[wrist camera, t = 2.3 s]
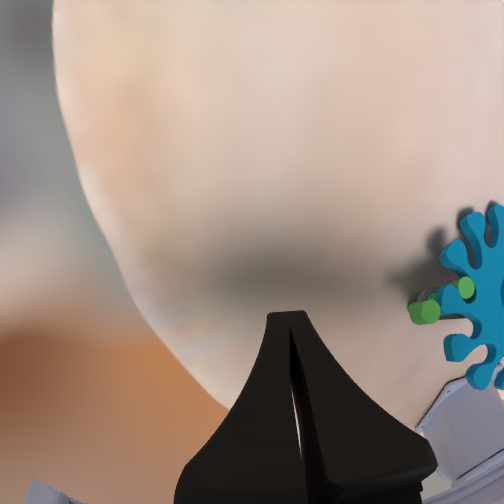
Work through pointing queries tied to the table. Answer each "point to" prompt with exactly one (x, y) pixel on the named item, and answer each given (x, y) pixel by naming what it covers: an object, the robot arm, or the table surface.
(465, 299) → the gear
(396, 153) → the table surface
